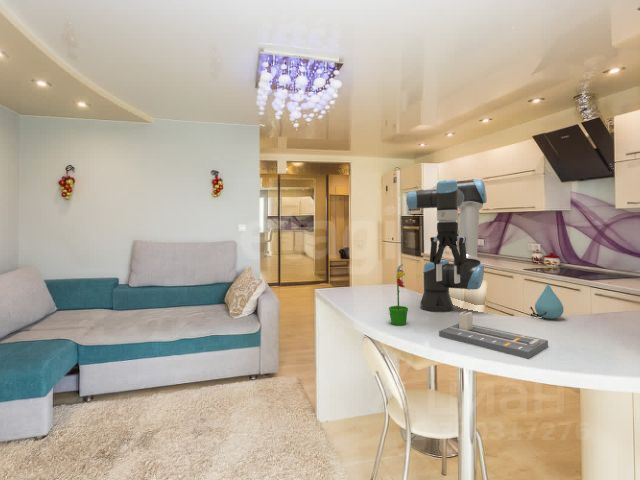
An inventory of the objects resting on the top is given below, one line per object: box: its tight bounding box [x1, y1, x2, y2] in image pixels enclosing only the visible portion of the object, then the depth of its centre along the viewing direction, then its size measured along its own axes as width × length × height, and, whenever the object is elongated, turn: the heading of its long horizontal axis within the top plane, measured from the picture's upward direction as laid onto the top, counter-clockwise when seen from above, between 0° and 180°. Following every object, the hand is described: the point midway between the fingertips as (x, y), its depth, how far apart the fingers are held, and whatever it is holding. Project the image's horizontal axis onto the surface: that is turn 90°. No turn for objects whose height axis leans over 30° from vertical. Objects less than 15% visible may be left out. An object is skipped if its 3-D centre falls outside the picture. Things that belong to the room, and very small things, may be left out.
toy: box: [530, 283, 564, 320], centre depth 149 cm, size 15×12×15 cm
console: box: [438, 323, 549, 360], centre depth 122 cm, size 16×30×3 cm, turn 39°
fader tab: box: [458, 311, 474, 331], centre depth 129 cm, size 4×3×6 cm
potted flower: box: [388, 263, 409, 326], centre depth 146 cm, size 9×8×25 cm
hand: (448, 281), depth 134 cm, fingers open, 7 cm apart
